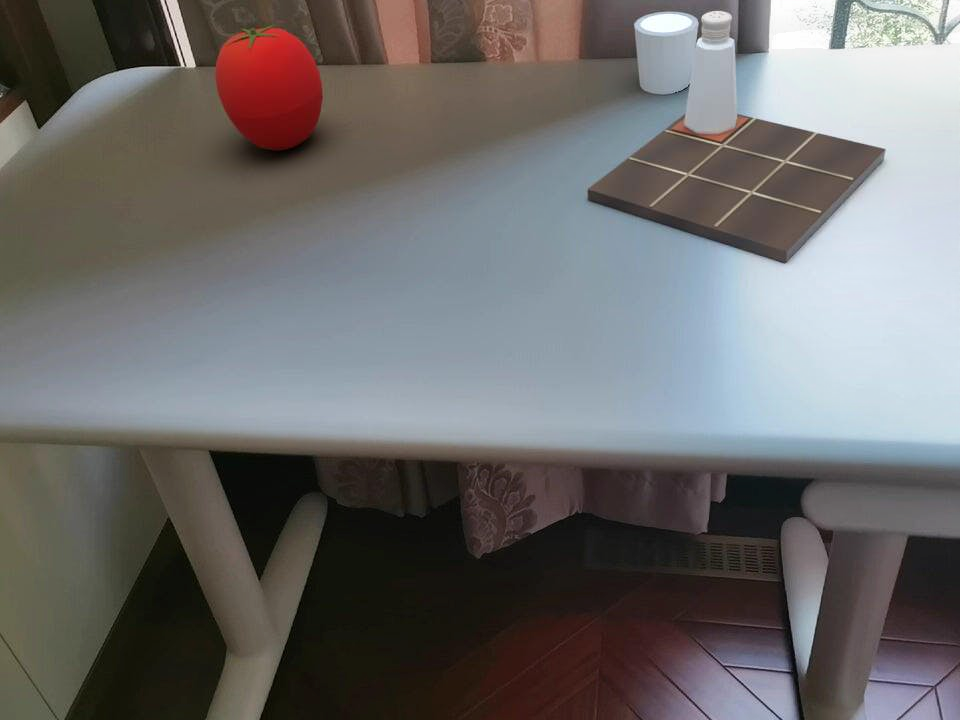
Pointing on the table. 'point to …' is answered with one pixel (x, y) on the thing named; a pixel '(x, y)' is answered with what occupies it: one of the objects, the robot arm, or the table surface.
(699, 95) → the pepper shaker
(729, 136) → the board
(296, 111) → the tomato
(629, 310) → the table surface
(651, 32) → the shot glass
